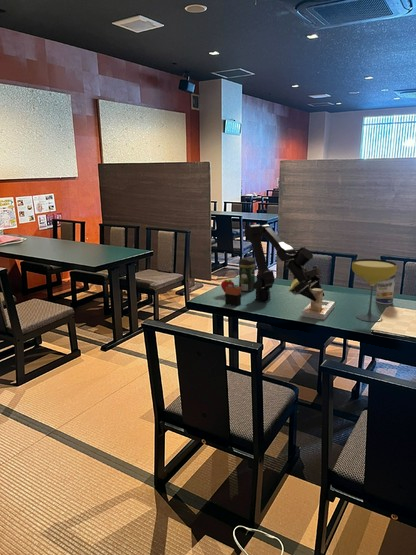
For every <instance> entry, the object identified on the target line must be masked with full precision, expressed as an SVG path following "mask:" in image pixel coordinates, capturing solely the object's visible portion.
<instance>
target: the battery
mask: <svg viewBox="0 0 416 555" xmlns="http://www.w3.org/2000/svg"><path fill="white" fill-rule="evenodd" d="M224 296H225V300H224V302H225V305H226V306H232V307H238V306H240V305H242V291H241V287H239V284H234V286H232V285H228V286H227V287H225V292H224Z"/></svg>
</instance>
